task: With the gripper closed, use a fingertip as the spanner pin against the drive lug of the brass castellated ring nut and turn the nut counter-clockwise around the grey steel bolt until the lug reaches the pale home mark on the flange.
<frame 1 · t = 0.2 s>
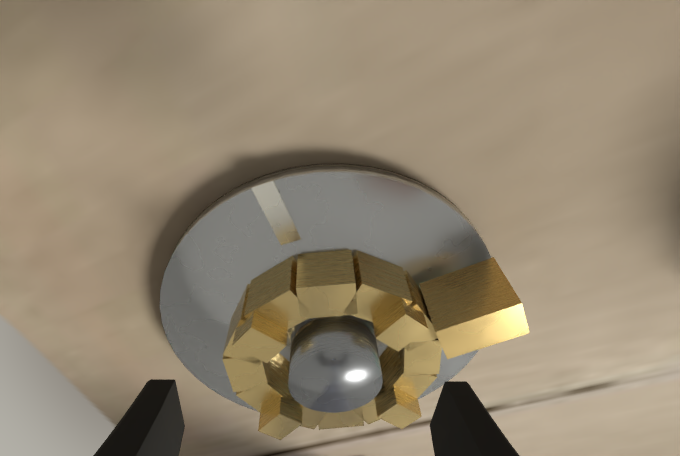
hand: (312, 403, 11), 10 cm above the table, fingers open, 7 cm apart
flange: (331, 311, 23), on the table
ring nut: (369, 352, 20), point 3 cm above the table, hinge at 0.0°
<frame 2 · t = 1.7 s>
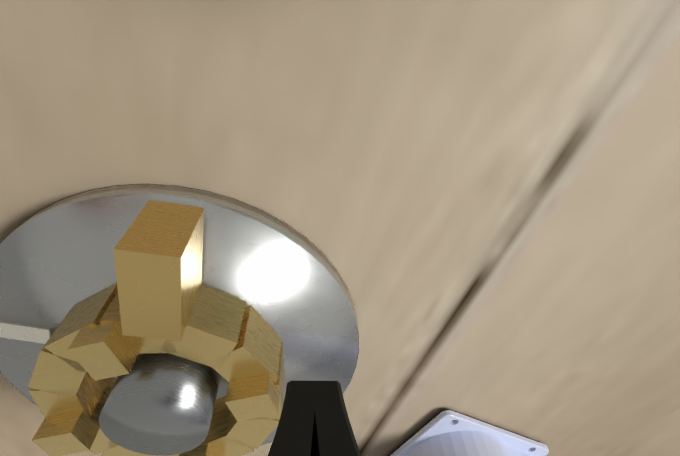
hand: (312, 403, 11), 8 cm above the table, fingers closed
flange: (185, 339, 21), on the table
ring nut: (181, 368, 18), point 3 cm above the table, hinge at 0.0°
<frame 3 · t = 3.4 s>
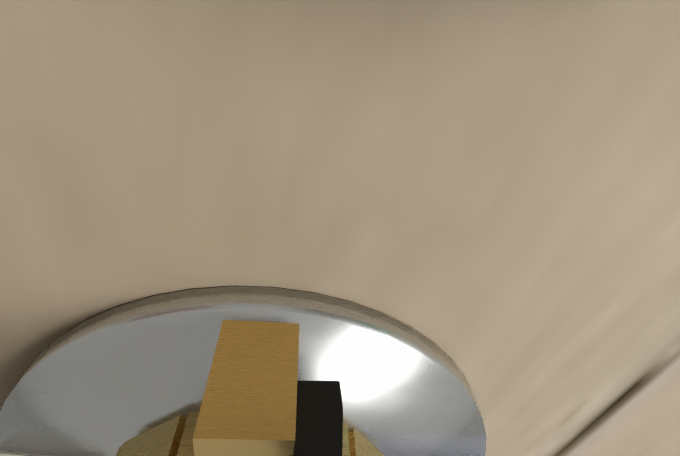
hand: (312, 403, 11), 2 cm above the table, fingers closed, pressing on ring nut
flange: (258, 454, 17), on the table
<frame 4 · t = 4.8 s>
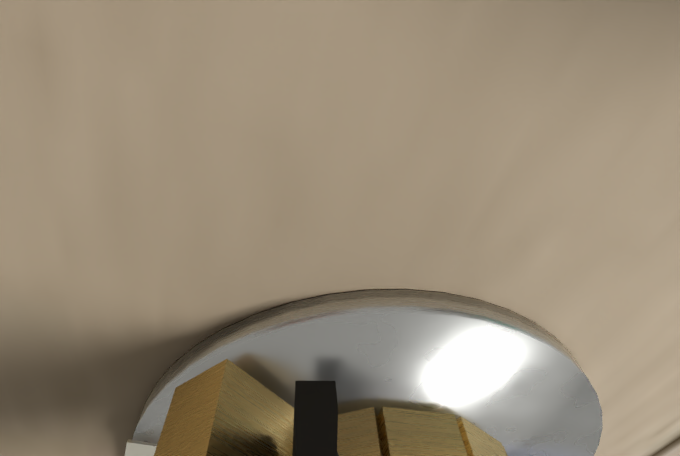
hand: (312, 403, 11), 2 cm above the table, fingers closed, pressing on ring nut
flange: (366, 453, 17), on the table
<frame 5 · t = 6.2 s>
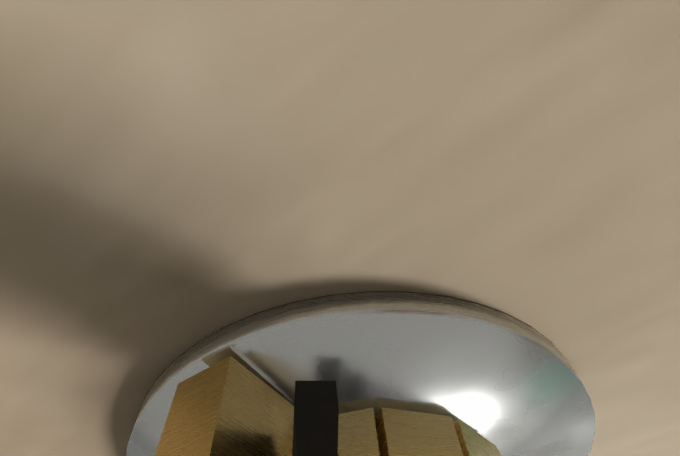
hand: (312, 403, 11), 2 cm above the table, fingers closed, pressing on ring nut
flange: (362, 453, 17), on the table
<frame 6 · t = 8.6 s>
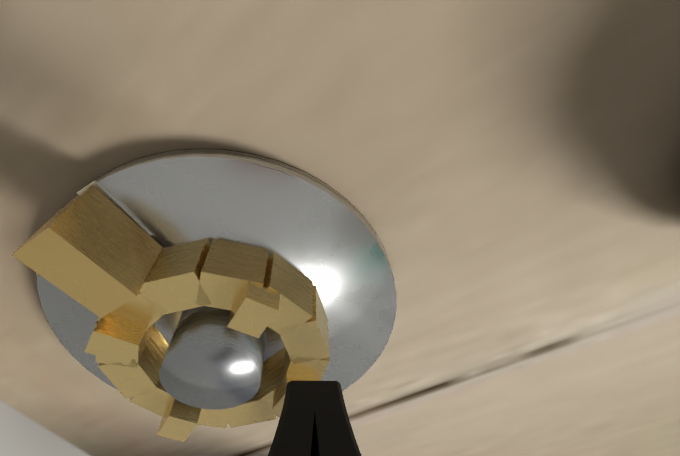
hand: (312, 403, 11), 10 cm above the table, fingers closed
flange: (229, 304, 22), on the table
ring nut: (203, 324, 19), point 3 cm above the table, hinge at 87.9°
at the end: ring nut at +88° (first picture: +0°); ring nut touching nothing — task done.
